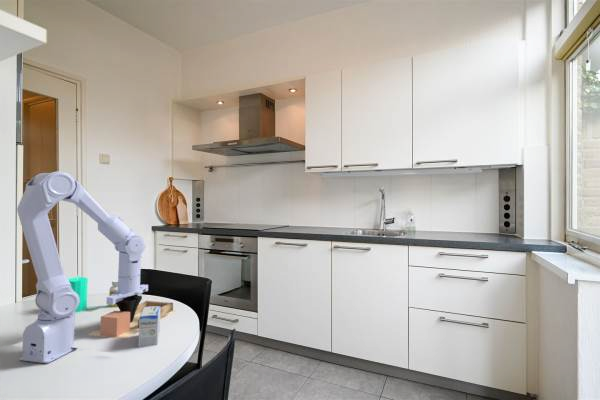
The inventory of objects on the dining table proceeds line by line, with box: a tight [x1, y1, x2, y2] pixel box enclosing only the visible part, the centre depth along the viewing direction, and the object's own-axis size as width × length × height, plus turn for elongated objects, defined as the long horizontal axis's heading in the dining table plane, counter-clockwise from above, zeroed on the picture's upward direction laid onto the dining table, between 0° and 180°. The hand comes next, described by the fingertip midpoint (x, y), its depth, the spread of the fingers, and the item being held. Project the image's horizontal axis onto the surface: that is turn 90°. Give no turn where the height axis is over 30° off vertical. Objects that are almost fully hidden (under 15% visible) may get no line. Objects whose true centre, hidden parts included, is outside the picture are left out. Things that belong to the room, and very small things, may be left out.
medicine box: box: [138, 306, 161, 348], centre depth 82 cm, size 8×4×9 cm, turn 21°
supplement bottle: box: [108, 278, 118, 308], centre depth 109 cm, size 5×5×10 cm
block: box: [99, 310, 130, 337], centre depth 86 cm, size 5×5×5 cm
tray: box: [87, 300, 175, 340], centre depth 94 cm, size 23×12×4 cm, turn 170°
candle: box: [67, 274, 88, 313], centre depth 107 cm, size 6×6×12 cm
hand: (128, 322), depth 91 cm, fingers closed
